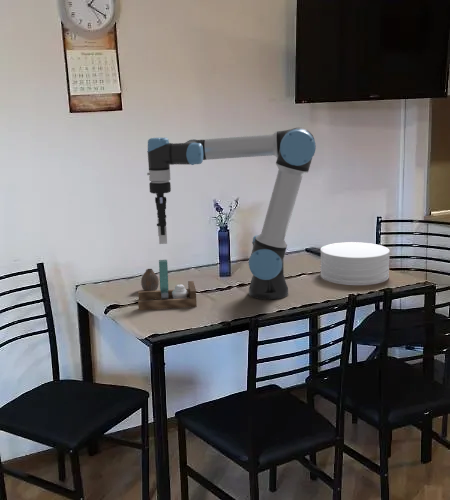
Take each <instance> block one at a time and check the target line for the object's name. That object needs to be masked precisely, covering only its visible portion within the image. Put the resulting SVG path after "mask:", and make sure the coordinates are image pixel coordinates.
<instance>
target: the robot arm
mask: <svg viewBox="0 0 450 500" xmlns="http://www.w3.org/2000/svg"><path fill="white" fill-rule="evenodd" d="M316 147H317V144H316V141H315V138H314V135H313V134H312V132H311V131H309V129H306V128H304V127H294V128H290V129H285V130H277V131H275V132H273V134H260V135H248V136H247V135H246V136H245V135H244V136H232V137H231V136H230V137H221V138H205V139H193V138H192V139H188V140H186V142H178V143H176V142H175V143H172V142H170V141H169V138H168V137H151V138H149V139H148V140H147V159H148V160H147V162H148V172H147V173H146V175H147V176H149V177H148V178H149V179H148V180H149V185H148V186H149V193H151V194H155V195H156V196H155V197H154V202H155V206H156V211H157V213H156V215H157V223H156V227H157V233H158V235H157V236H158V241H159V242H158V244H159V245H165V244H166V245H167V244H168V236H167V235H168V234H167V221H166V219H167V214H166V209H167V197H166V196H164V195H165V194H169V193H171V191H172V187H171V186H172V185H171V182H170V180H171V167H170V165H171V166H173V165H174V166H175V165H184V166H185V165H191V166H194V165H200V164H203V161H207V160H221V159H223V160H224V159H238V158H239V159H240V158H252V157H253V158H254V157H269V156H275V157H276V162H275V165H276V166H277V168H278V171H277V175H276V178H275V182H274V185H273V189H272V192H271V197H270V200H269V204H268V208H267V212H266V215H265V218H264V222H263V226H262V229H261V233H260V234H259V235H254V236H253V238H252V241H251V243H252V250H251V253H250V256H249V258H248V268H249V270H250V272H251V274H252V277H251V280H250V282H249V283H250V284H249V288H248V296H249V297H251V298H255V299H258V300H277V299H278V300H279V299H282V298H286V297H288V295H289V287H288V284H287V282H286V281H287V280H286V277H285V275H284V273H285V272H284V265H285V263H284V262H285V261H284V259H285V255H286V253H287V252H286V251H287V248H288V244H287V242H286V236H287V232H288V229H289V225H290V221H291V217H292V214H293V211H294V208H295V205H296V201H297V196H298V194H299V190H300V186H301V182H302V180H303V176H304V175H306V174H308V173H309V171H310V170H309V169H310V167H311V164H312V160H313V157H314V156H315V153H316V149H317V148H316Z"/></svg>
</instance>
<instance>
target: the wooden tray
mask: <svg viewBox="0 0 450 500" xmlns="http://www.w3.org/2000/svg"><path fill="white" fill-rule="evenodd" d="M187 285H188V287H187V288H185V289H186V290H187V291H188V295H187V298H182V299H174V298H173V295H172V292H173V290H174V289H168V290H169V291H168V299H164V300H161V291H160V289H159V290H158V289H157V290H156V291H144V290H142V291H137V292H138V301H137V302H138V311H146V310H147V311H149V310H163V309H165V310H166V309H180V308H181V309H183V308H196V307H197V301H198V300H197V290H196V286H195V281H194V280H190V281H187Z"/></svg>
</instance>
